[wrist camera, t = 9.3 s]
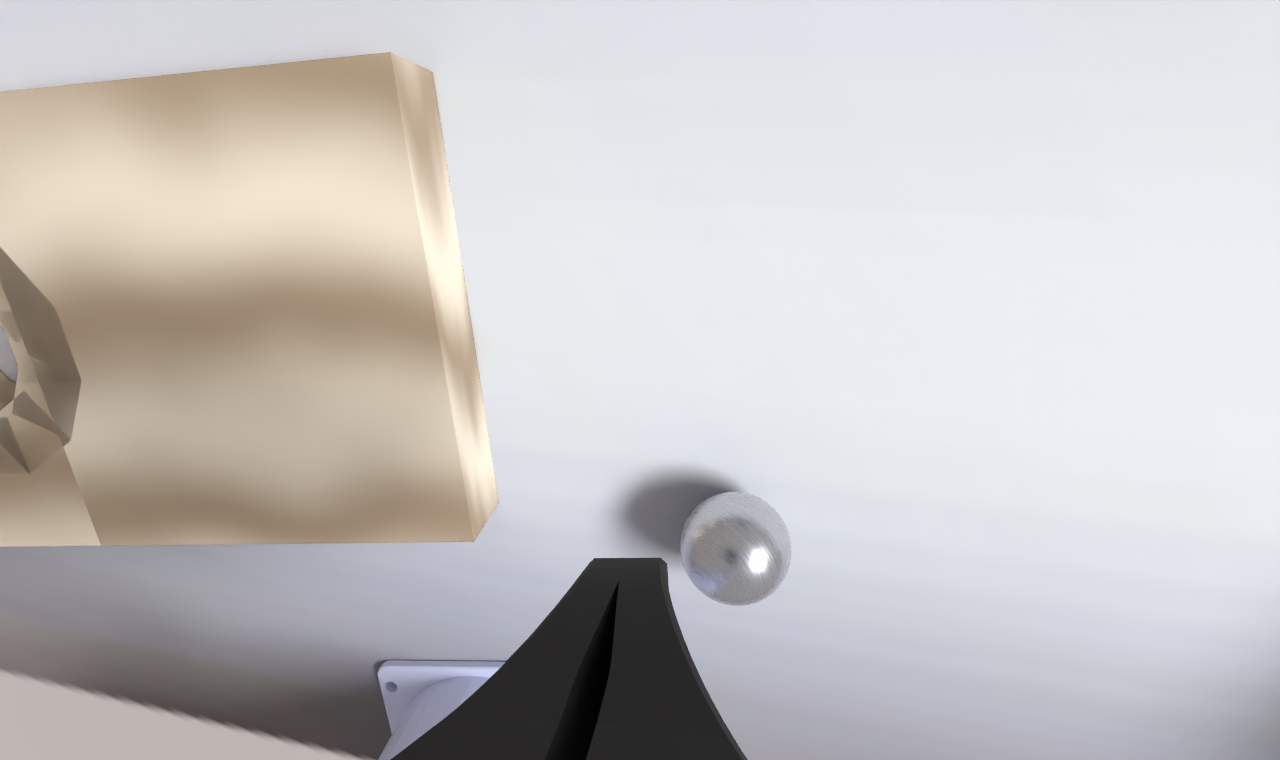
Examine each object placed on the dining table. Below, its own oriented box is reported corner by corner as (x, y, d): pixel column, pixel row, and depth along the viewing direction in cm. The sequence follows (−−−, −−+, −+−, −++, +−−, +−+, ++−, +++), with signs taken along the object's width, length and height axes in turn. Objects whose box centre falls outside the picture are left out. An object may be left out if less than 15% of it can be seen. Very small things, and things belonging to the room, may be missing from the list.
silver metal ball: (643, 551, 20) (709, 491, 22) (713, 637, 19) (774, 567, 21) (684, 521, 17) (756, 455, 19) (768, 621, 16) (833, 542, 18)
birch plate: (498, 503, 21) (474, 541, 19) (-37, 512, 24) (-119, 547, 21) (432, 72, 17) (390, 52, 15) (-207, 134, 19) (-332, 125, 17)
